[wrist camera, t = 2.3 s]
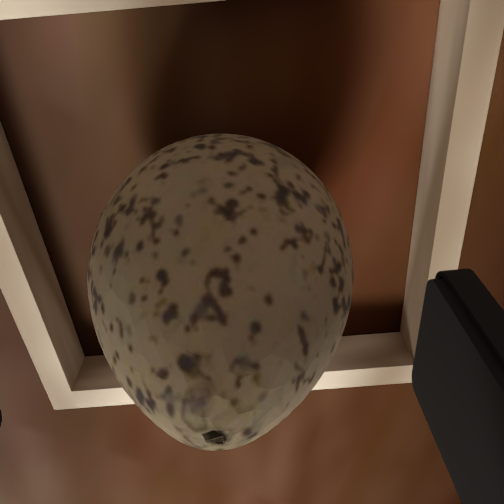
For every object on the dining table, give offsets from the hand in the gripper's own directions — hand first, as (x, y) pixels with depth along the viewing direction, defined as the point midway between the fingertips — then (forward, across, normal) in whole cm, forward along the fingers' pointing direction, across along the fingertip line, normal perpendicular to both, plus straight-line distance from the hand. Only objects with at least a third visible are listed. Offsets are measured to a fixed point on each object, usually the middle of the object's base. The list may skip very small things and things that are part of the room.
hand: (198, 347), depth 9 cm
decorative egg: (+8, 0, +1) cm, 9 cm away
